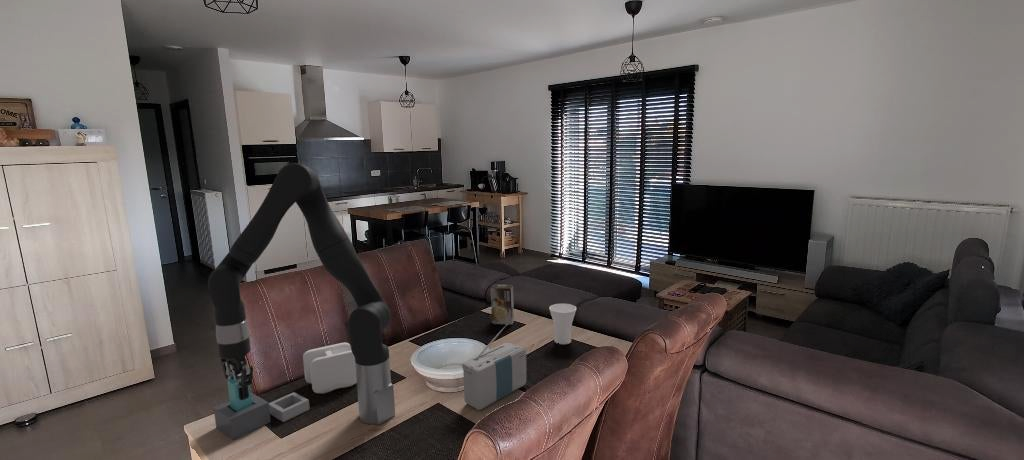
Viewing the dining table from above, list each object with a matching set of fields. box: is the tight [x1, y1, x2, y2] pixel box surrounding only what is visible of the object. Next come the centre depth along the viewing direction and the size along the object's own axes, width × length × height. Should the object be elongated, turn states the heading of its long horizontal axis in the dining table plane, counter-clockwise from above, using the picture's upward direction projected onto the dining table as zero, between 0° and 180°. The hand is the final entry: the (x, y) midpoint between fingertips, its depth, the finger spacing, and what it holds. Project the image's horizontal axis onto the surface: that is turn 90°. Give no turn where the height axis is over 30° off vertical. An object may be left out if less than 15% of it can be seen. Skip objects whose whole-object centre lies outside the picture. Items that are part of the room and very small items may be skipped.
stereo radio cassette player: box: [461, 324, 527, 411], centre depth 145 cm, size 21×8×20 cm, turn 137°
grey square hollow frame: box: [269, 391, 310, 423], centre depth 140 cm, size 8×8×3 cm
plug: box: [226, 374, 253, 412], centre depth 132 cm, size 4×4×10 cm
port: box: [213, 392, 272, 440], centre depth 133 cm, size 10×10×6 cm
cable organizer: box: [302, 342, 357, 394], centre depth 155 cm, size 15×11×12 cm
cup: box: [548, 303, 577, 345], centre depth 185 cm, size 10×10×14 cm
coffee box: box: [490, 283, 515, 325], centre depth 207 cm, size 9×6×16 cm
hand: (240, 396), depth 132 cm, fingers closed on plug, 4 cm apart
